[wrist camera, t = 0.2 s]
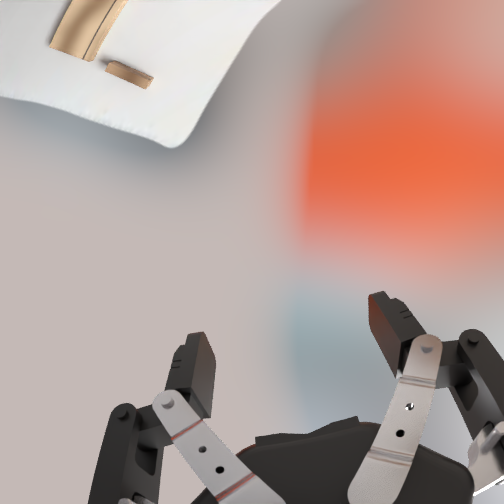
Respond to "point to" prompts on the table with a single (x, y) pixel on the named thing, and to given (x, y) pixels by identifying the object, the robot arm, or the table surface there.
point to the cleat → (129, 74)
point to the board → (86, 27)
